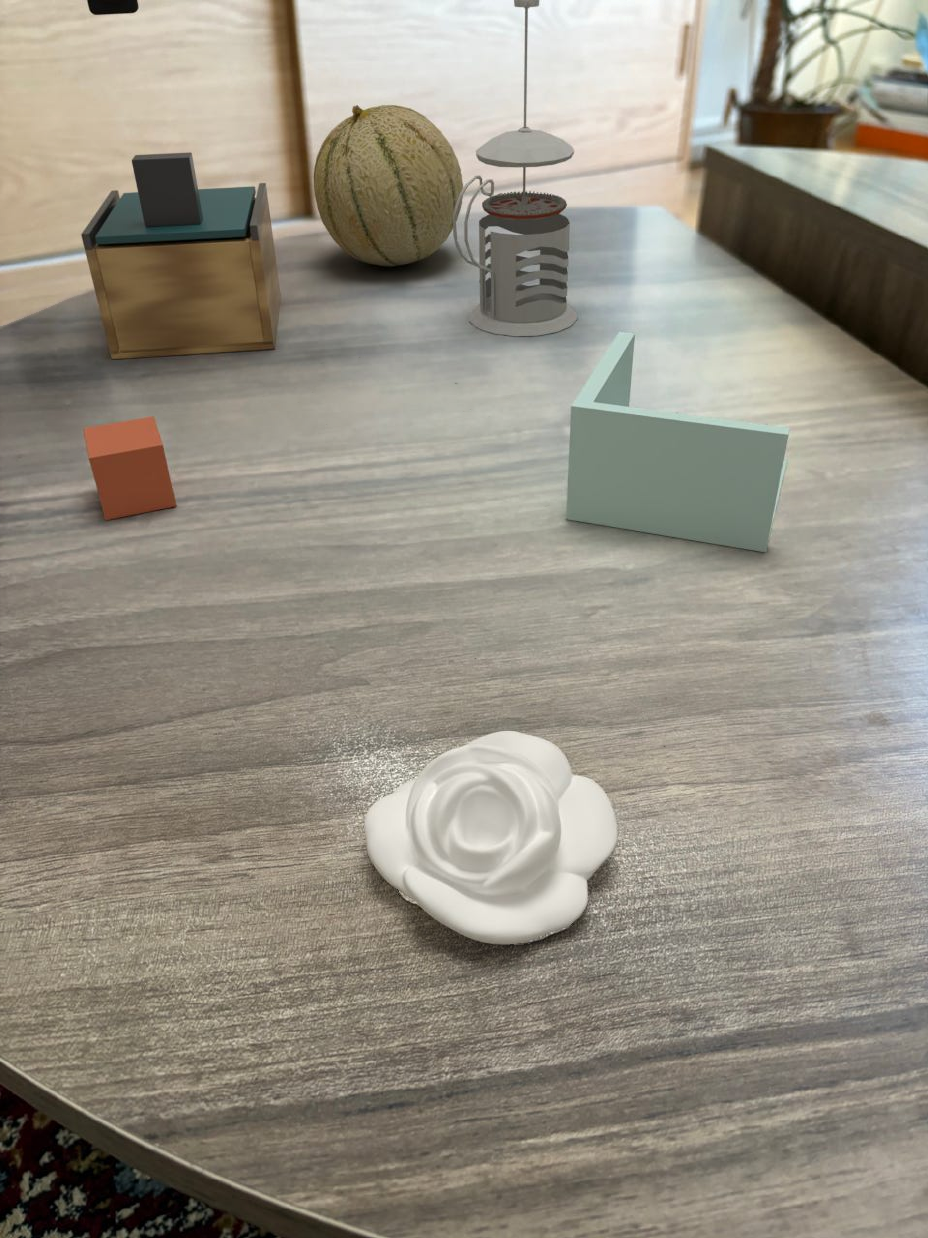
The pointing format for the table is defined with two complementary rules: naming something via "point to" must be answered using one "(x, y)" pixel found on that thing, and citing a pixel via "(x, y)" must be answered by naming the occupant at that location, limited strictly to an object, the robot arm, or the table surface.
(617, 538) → the table surface
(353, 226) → the cantaloupe
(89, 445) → the block
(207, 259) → the wooden box
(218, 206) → the sliding door
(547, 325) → the french press
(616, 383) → the l-shaped corner panel
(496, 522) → the table surface
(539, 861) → the rose
